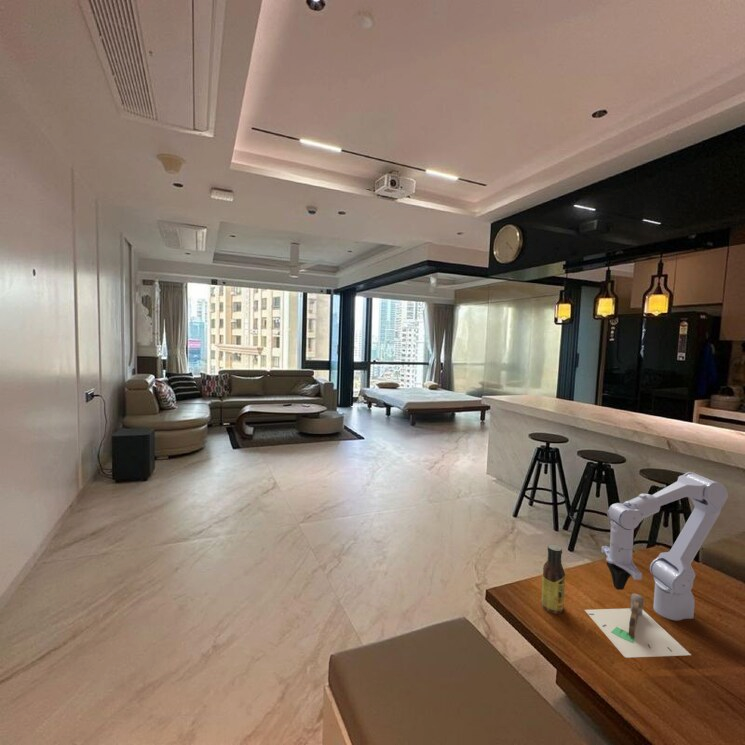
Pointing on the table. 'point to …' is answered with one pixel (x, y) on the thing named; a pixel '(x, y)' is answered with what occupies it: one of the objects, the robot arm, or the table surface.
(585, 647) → the table surface
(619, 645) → the tuner dial board
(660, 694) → the table surface
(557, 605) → the sauce bottle
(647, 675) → the table surface
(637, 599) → the tuning lever
